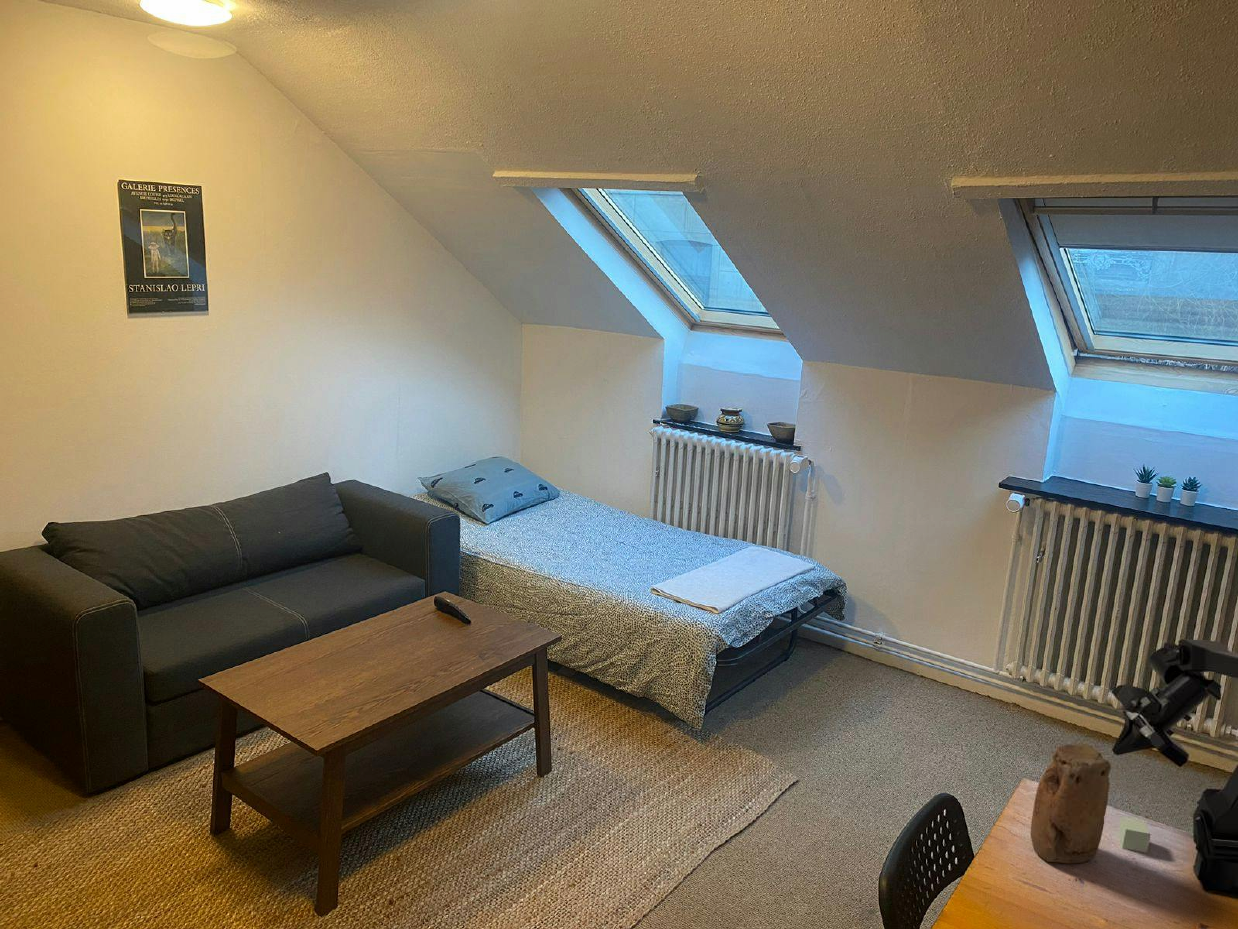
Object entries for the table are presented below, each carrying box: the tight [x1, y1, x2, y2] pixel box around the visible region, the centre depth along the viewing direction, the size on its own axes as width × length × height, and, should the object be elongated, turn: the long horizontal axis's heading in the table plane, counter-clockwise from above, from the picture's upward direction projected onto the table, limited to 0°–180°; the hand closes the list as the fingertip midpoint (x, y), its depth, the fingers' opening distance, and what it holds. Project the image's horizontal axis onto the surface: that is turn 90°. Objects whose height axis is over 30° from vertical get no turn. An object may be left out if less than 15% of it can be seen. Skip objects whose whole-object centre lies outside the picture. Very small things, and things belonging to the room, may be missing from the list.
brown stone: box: [1030, 743, 1112, 864], centre depth 162 cm, size 11×8×20 cm
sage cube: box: [1117, 815, 1151, 853], centre depth 167 cm, size 4×4×4 cm
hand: (1114, 753), depth 175 cm, fingers closed
